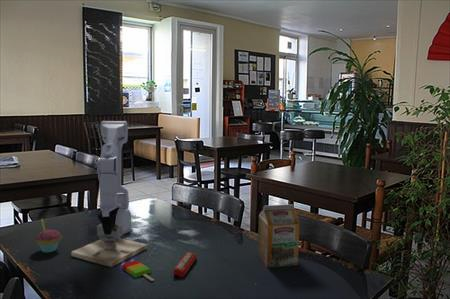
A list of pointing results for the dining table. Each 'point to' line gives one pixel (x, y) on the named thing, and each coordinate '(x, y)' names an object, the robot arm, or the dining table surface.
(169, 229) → the dining table surface
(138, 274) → the popsicle
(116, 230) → the grey block
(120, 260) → the post base
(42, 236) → the cupcake
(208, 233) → the dining table surface
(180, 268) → the candy bar
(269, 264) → the milk carton
